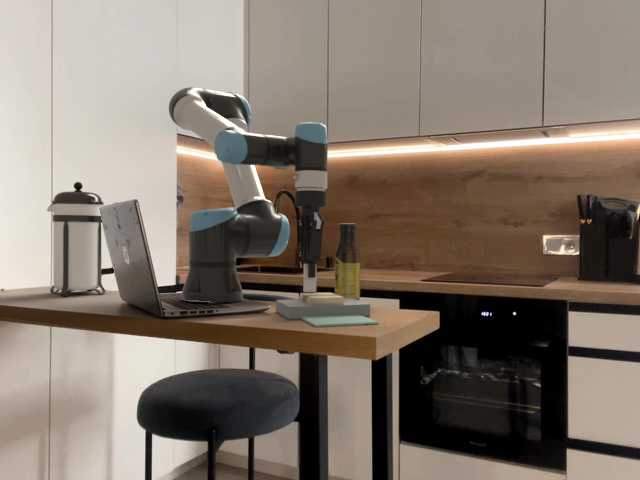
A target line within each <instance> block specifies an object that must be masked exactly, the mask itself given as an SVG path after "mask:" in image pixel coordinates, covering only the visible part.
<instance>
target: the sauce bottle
mask: <svg viewBox="0 0 640 480" xmlns="http://www.w3.org/2000/svg"><path fill="white" fill-rule="evenodd" d="M339 230H340V237H339V243H338V245H337V249H336V252H335V254H334V294H336V295H339V296H342V297H344V298H353V299H356V300H359V301H360V297H361V253H360V252H361V251H360V249H359V246H358V245H357V243H356V241H357V239H356V230H357V223H352V222H351V223H350V222H349V223H344V222H343V223H339Z"/></svg>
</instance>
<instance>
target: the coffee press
mask: <svg viewBox="0 0 640 480" xmlns="http://www.w3.org/2000/svg"><path fill="white" fill-rule="evenodd" d="M83 186H84V185H83V184H82V182H79V181H76V182H74V184H73V188H74V189H75V190H74V191H72V190H71V191H61V192H58V193H57V194H55V196H54V198H53V200H52V201H51V204H50V205H49V206H48V207H47V209H46V212H52V213H53V214H52V222H53V250H52V251H53V255H52V256H53V257H52V258H53V261H52V263H53V271H52V272H53V276H52V277H53V285H52V287H51V288H50V293H51V294H57V293H58V292H60V296H61V297H63V298H64V297H69V296H70V294H71V292H75V291H76V292H77V291H87V292H93V291H95V292H96V293H97V294H98V295H104V294H105V293H106V289H105V288H104V286H103V285H102V282H103V281H102V279H103V278H102V276H105V275H112V274H115V273H114V269H113V267H114V266H112V267H109V268H108V267H107V268H102V267H103V266H102V265H103V222H102V220H101V215H100V210H99V208H100V207H102V208H103V206H104V204H105V203H104V201H103V200H102V198H101V196H100V195H99V194H97V193H94V192H89V191H82V189H83ZM99 288H100V290H102V292H100V290H99ZM55 289H56V290H55ZM54 290H55V291H54ZM60 290H61V291H60Z"/></svg>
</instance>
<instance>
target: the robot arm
mask: <svg viewBox="0 0 640 480" xmlns="http://www.w3.org/2000/svg"><path fill="white" fill-rule="evenodd" d="M168 103H169V104H168V113H169V117H170V119H171V121H172V122H173V123H174V124H176V126H178V127H179V128H181V129H182V130H185V131H191V132H192V133H194V134H195V135H197V136H198V137H199V138H201V139H202V140H204V142H206V143H208V144H209V145H211V146H212V147H213V149H214V153H215V156H216V158H217V160H218V161H219V162H221V165H222V167H223V172H224V175H225V177H226V180H227V184H228V188H229V191H230V195H231V197H232V202H233V205H234V207H231V206H230V207H229V206H228V207H218V208H217V207H216V208H209V209H208V208H207V209H200V210H196V211H193V212H192V213H191V214H190V216H189V227H188V232H189V234H188V235H189V236H188V238H189V240H188V242H189V245H188V247H189V248H188V249H189V250H188V254H189V257H188V263H189V264H188V267H189V268H188V272H187V275H186V279H185V281H184V284H183V288H182V289H181V300H182V299H185V300H199V301H210V302H222V303H221V304H224V303H223V302H230V303H236V302H237V303H238V302H240V301H242V300H243V299H244V298H243V296H244V295H243V293H244V291H243V289H242V285H241V281H240V278H239V275H238V272H237V259H238V258H239V259H240V258H241V259H242V258H243V259H244V258H265V259H266V258H269V257H277V256H280V255H281V254H282V253H283V252H284V251H285V250H286V248H287V245H288V243H289V240H290V234H291V233H290V232H291V231H290V230H291V229H290V222H289V220H288V218H287V216H286V215H285V214H283V213H280V212H278V213H277V212H276V208H275V207H274V204H273V202H272V201H271V200H268V199H266V197H265V193H264V191H263V187H262V184H261V181H260V178H259V176H258V175H259V174H258V171H257V168H256V166H259V167H267V168H268V167H270V168H271V169H275V170H287V169H291V168H294V173H295V174H294V175H293V176H292V179H293V180H294V188H295V189H296V191H295V192H294V207H296V208H301V215H300V218H299V220H297V226H298V227H297V228H298V235H299V252H300V257H299V258H300V260H301V261H302V263H303V282H302V283H303V286H302V287H303V290H302V291H303V293H317V274H318V273H317V264H318V263H319V262H320V261H321V253H322V244H323V243H322V241H323V232H324V226H325V220H324V219H322V216H321V211H320V208H326V207H327V206H328V193H327V191H325V190H327V189H328V149H329V148H328V147H329V146H328V144H329V140H328V129H327V126H326V125H325V124H323V123H320V122H300V123H298V124H296V126H295V130H294V135H292V136H281V135H280V136H278V135H271V134H263V133H255V132H254V133H253V132H249V131H248V130H249V129H250V126H251V123H252V117H251V115H252V111H251V110H252V109H251V106H250V103H249V102H248V100H247V99H246V98H245V97H244V96H243V95H240V94H237V93H235V92H234V93H233V92H231V91H230V92H229V91H227V92H225V91H219V90H214V89H209V88H202V87H196V86H190V87H185V88H182V89H180V90H178V91H177V92H175V93H174V94H173V95H172V97H171V98H170V101H169V102H168Z"/></svg>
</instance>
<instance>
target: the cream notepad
mask: <svg viewBox="0 0 640 480" xmlns="http://www.w3.org/2000/svg"><path fill="white" fill-rule="evenodd" d="M299 299H300V300H302V301H304V302H307V303H309V304H311V305H331V304H344V297H342V296H339V295H336V294H335V293H334V292H330V291H329V292H301V293H300V298H299Z"/></svg>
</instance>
